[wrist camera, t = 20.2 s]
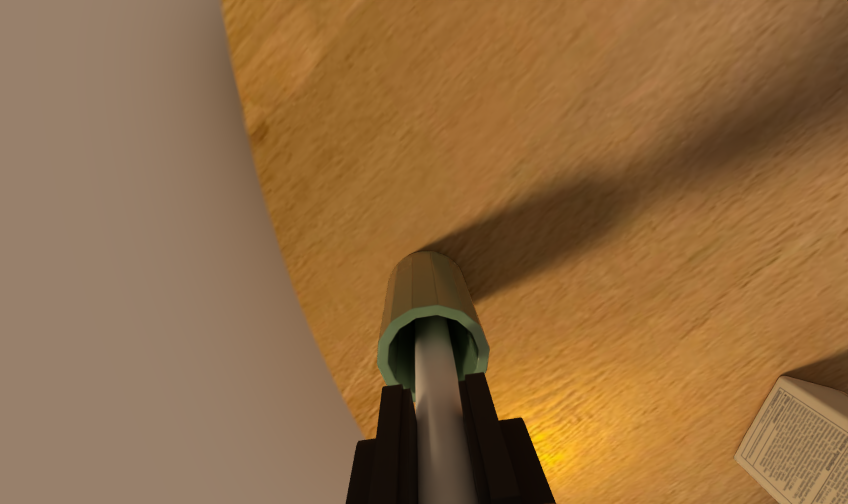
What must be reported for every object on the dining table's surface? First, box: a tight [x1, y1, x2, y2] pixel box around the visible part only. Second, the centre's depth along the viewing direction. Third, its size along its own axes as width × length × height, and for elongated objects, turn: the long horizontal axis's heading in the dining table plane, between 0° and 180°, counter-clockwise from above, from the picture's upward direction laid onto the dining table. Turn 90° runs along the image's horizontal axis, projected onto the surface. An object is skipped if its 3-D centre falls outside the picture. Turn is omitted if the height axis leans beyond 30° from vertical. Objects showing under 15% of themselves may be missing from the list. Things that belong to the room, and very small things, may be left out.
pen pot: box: [377, 251, 490, 402], centre depth 18 cm, size 4×4×7 cm
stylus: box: [415, 315, 478, 504], centre depth 12 cm, size 1×1×14 cm
